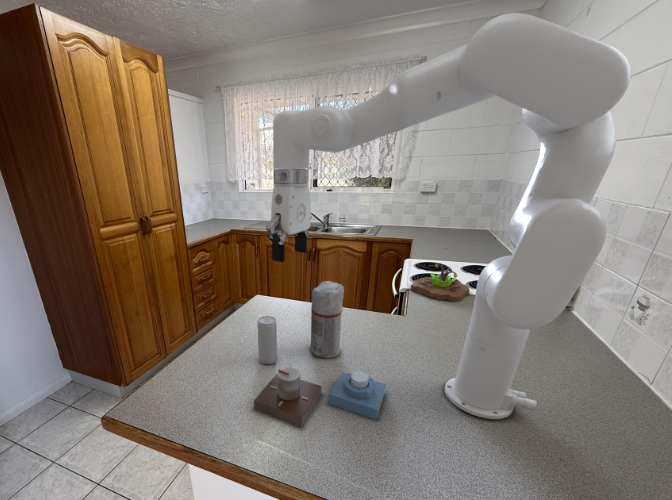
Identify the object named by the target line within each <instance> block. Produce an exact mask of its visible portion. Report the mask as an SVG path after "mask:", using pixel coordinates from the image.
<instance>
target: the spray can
mask: <svg viewBox="0 0 672 500" xmlns="http://www.w3.org/2000/svg"><path fill="white" fill-rule="evenodd" d="M344 293H345V287H344V285H343V284H340V283H338V282H334V281H330V280H324V281H322V282H321V283H319V284H318V286H317V287H314V288H313V289H312V292H311V297H312V299H311V308H310V309H311V310H310V315H311V316H310V320H311V321H310V351H311V353H312V354H313V356H315V357H317V358H319V359H332V358H333V359H334V358H335V357H338V356H339V355H340V353H341V351H340V345H341V344H340V343H341V330H342V327H341V326H342V315H343V310H344V308H343V307H344V306H343V301H344V298H345V297H344Z"/></svg>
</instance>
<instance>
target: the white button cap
mask: <svg viewBox="0 0 672 500" xmlns="http://www.w3.org/2000/svg"><path fill="white" fill-rule="evenodd" d="M351 373H352V374H351ZM351 373H350V374H351V385H352V386H353V387H355V388H359V389H365V388H366V387H367V386H368V379H369V378H368V376H369V375H368V374H367V373H365V372H362V371H354V372H351Z"/></svg>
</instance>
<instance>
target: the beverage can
mask: <svg viewBox="0 0 672 500" xmlns="http://www.w3.org/2000/svg"><path fill="white" fill-rule="evenodd" d="M277 326H278V325H277V320H276V318H275V317H273V316H270V315H265V316H264V315H263V316H261V317H259V318H258V319H257V343H258V344H257V345H258V360H259V362H260V363H261V364H263V365H272V364H274V363H276V361H277V359H278V339H277V338H278V337H277V334H278V333H277Z"/></svg>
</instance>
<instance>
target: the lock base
mask: <svg viewBox="0 0 672 500" xmlns="http://www.w3.org/2000/svg"><path fill="white" fill-rule="evenodd" d="M322 389H323V386H322V385H319V384H317V383H313V382H310V381H307V380H304V379H301V378H300V395H299V396H298V397H297V398H296V399H294V400H284V399H282V398H280V397H279V395H278V387H277V373H276V374H275V375H274V376H273V377H272V379H271V380H270V381H269V382H268V383H267V384H266V386H265V387H264V388H262V390H261V391H260V393H258V395H257V396H256V397H255V399H253V409H254V411H257V412H260V413H262V414H264V415H266V416H267V415H268V416H269V417H272V418H275V419H277V420H280V421H281V422H285V423H287V424H290V425H293V426H295V427H297V428H299V429H300V428H301V429H302V428H303V427H304V426H305V425H304V424H305V423H306V421H307V420H308V418H309V416H310V415H311V413H312V411H313V410H314V408H315V406H316V405H317V403H318V401H319V399H320V398H321V396H322Z"/></svg>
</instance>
